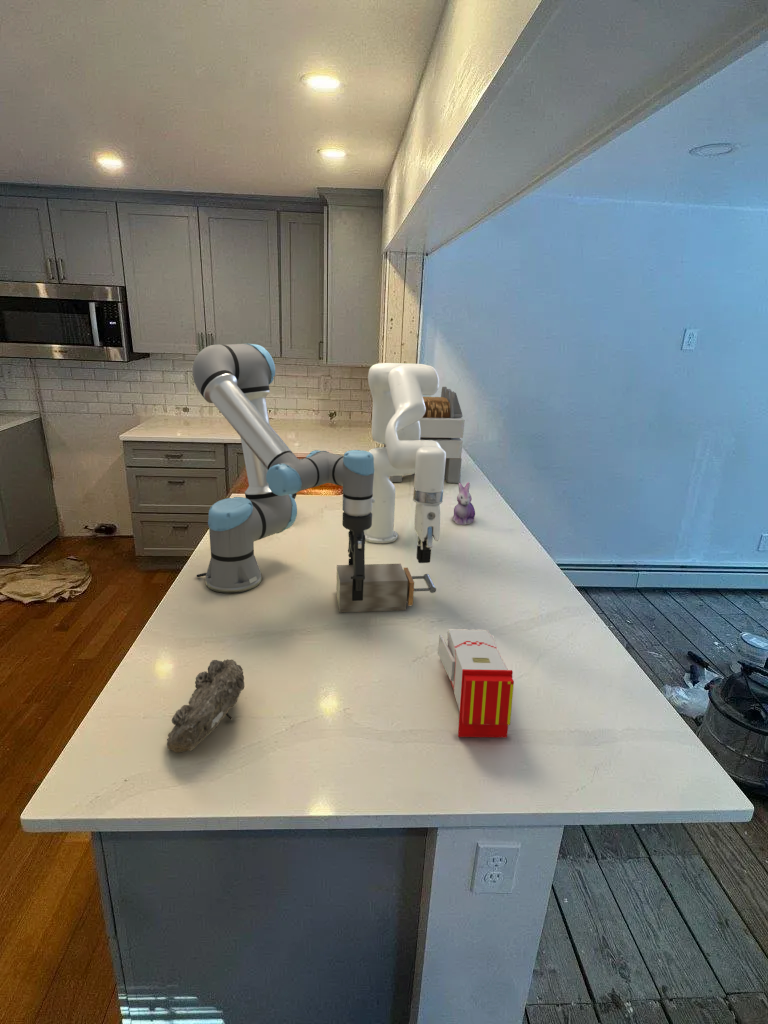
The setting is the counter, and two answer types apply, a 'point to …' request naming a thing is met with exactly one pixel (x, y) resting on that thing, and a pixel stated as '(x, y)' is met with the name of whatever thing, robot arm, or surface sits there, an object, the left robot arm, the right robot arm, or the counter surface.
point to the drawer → (411, 588)
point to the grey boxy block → (373, 588)
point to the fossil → (206, 705)
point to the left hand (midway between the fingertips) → (355, 589)
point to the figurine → (464, 506)
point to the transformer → (443, 431)
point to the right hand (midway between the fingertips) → (423, 560)
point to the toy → (478, 682)
